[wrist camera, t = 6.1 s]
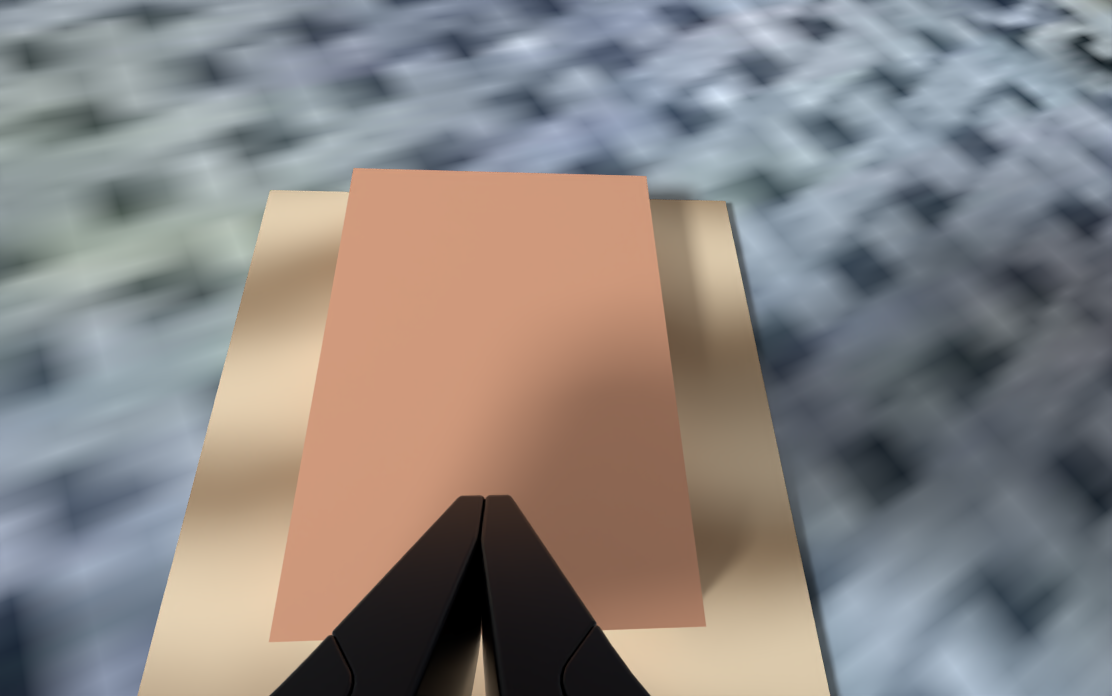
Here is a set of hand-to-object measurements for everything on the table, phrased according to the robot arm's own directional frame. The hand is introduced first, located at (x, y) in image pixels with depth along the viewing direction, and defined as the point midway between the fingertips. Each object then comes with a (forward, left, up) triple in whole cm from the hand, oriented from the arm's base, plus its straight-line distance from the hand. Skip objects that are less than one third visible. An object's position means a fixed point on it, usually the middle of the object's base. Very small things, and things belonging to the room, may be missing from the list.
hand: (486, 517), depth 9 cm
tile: (-1, +1, -6) cm, 6 cm away
